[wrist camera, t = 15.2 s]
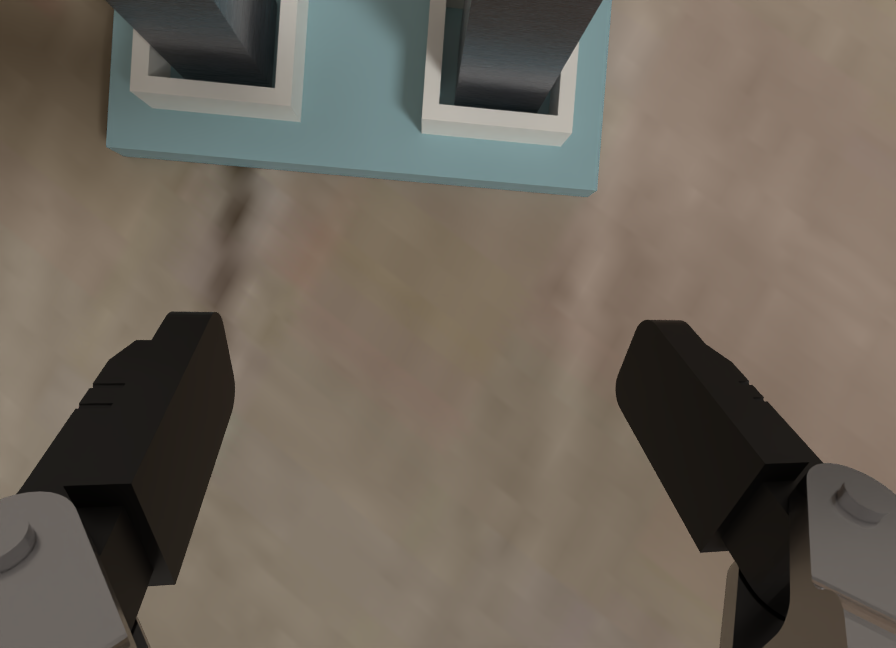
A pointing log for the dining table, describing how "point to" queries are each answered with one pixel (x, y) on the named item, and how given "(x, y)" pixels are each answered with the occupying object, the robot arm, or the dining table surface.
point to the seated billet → (209, 37)
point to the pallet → (364, 104)
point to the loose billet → (516, 50)
